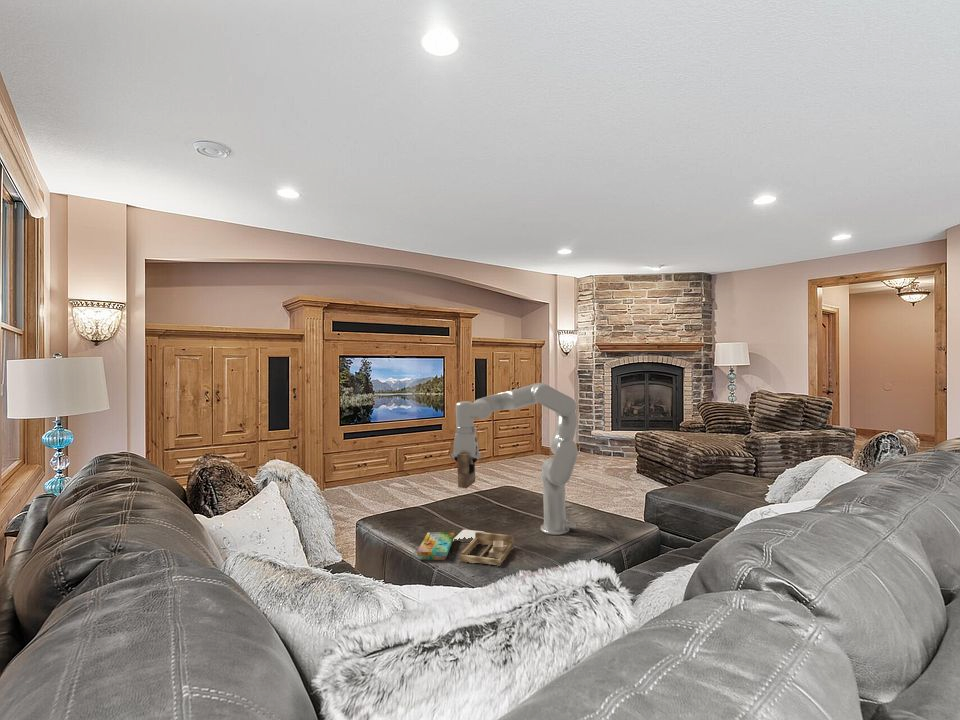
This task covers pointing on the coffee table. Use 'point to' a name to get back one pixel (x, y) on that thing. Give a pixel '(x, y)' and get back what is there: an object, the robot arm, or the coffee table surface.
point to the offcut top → (497, 546)
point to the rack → (487, 539)
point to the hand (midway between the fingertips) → (466, 472)
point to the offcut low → (496, 554)
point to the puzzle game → (435, 546)
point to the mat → (466, 534)
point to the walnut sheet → (464, 471)
